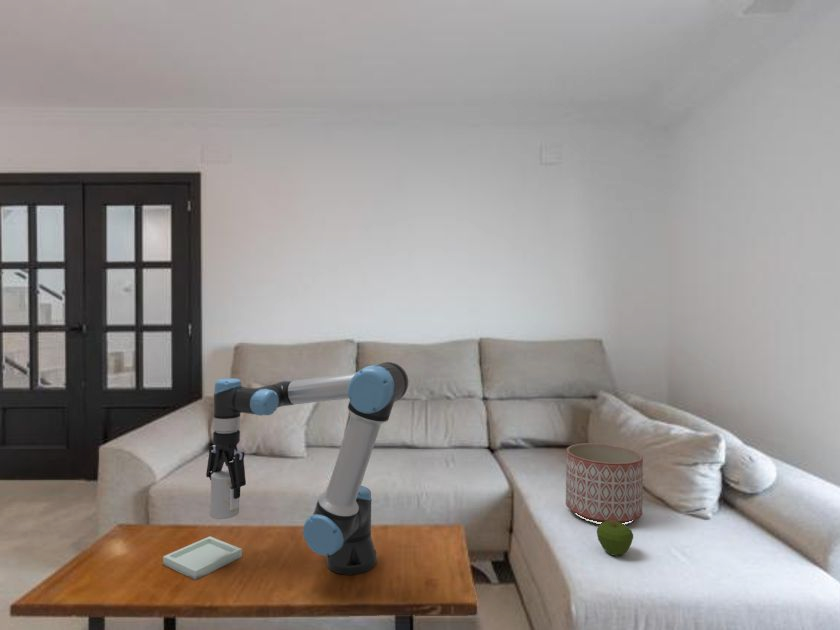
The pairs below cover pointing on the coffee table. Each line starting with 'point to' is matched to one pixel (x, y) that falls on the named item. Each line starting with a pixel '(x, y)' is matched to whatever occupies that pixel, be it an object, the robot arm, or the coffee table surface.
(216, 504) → the cup
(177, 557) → the tray
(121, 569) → the coffee table surface
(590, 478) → the planter
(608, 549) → the apple
